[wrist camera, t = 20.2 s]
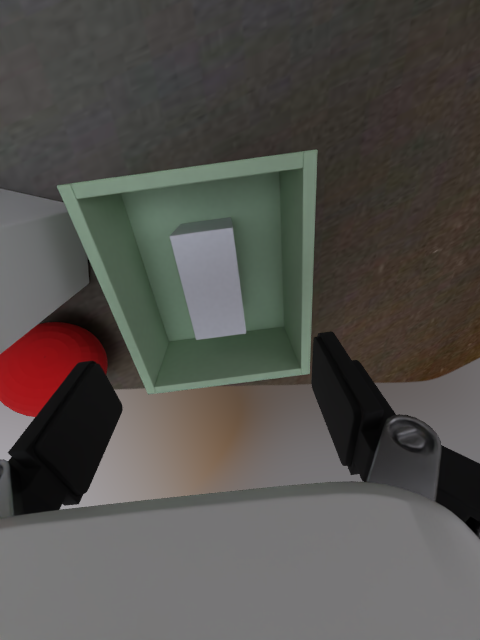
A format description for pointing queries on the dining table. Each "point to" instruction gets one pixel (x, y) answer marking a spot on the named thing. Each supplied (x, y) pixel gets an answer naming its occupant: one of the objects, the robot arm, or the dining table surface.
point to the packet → (210, 277)
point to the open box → (164, 280)
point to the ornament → (44, 364)
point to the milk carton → (36, 262)
